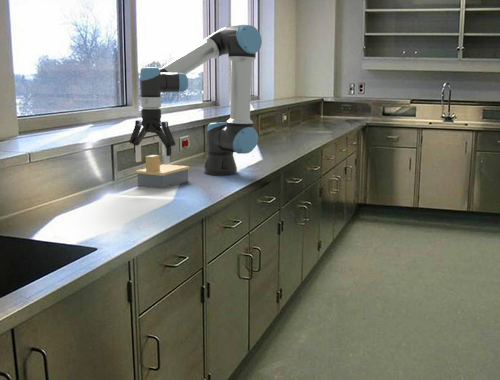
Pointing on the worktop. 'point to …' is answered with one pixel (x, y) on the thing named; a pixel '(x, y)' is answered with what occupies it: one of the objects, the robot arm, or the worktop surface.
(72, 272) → the worktop surface
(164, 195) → the worktop surface
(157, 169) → the lid
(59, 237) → the worktop surface
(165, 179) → the tub
